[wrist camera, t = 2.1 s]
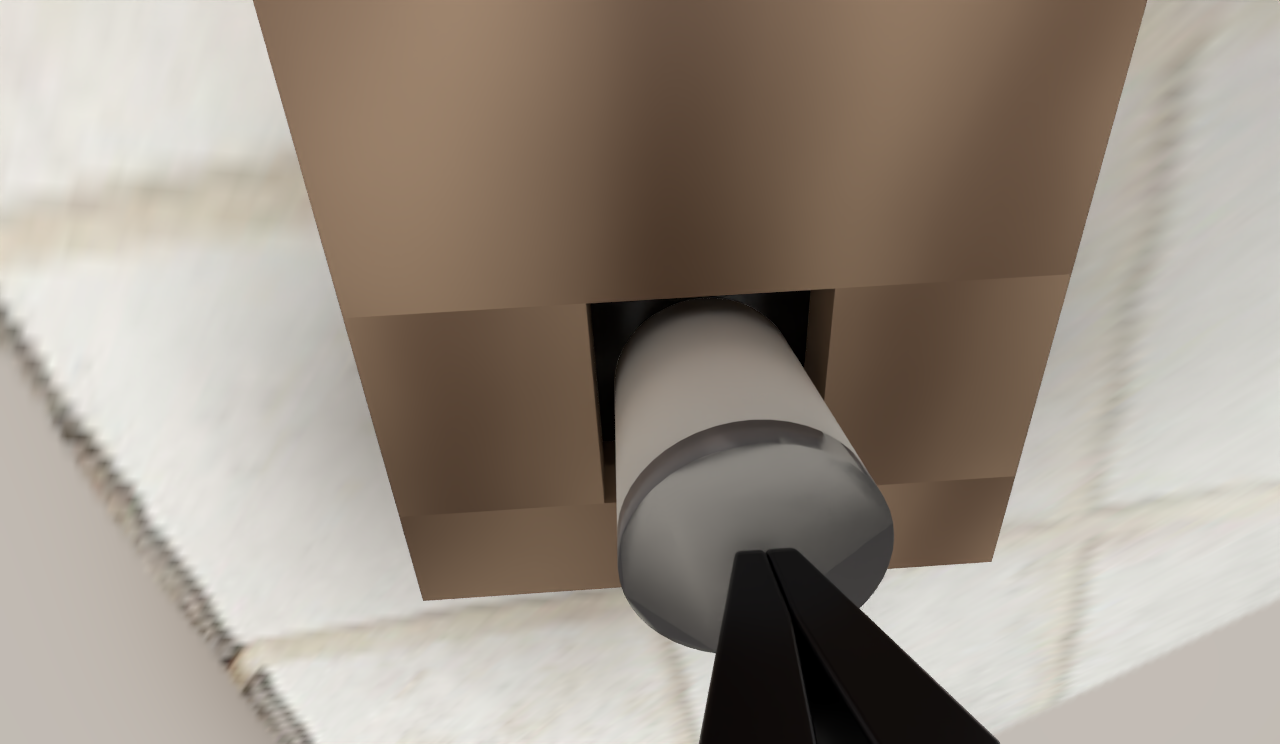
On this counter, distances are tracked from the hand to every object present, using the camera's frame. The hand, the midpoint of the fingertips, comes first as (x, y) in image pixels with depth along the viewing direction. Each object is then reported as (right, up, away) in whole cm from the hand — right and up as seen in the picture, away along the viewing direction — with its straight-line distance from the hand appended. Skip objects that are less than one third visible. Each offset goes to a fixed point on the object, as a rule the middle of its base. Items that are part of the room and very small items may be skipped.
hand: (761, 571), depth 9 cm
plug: (0, +3, +5) cm, 6 cm away
